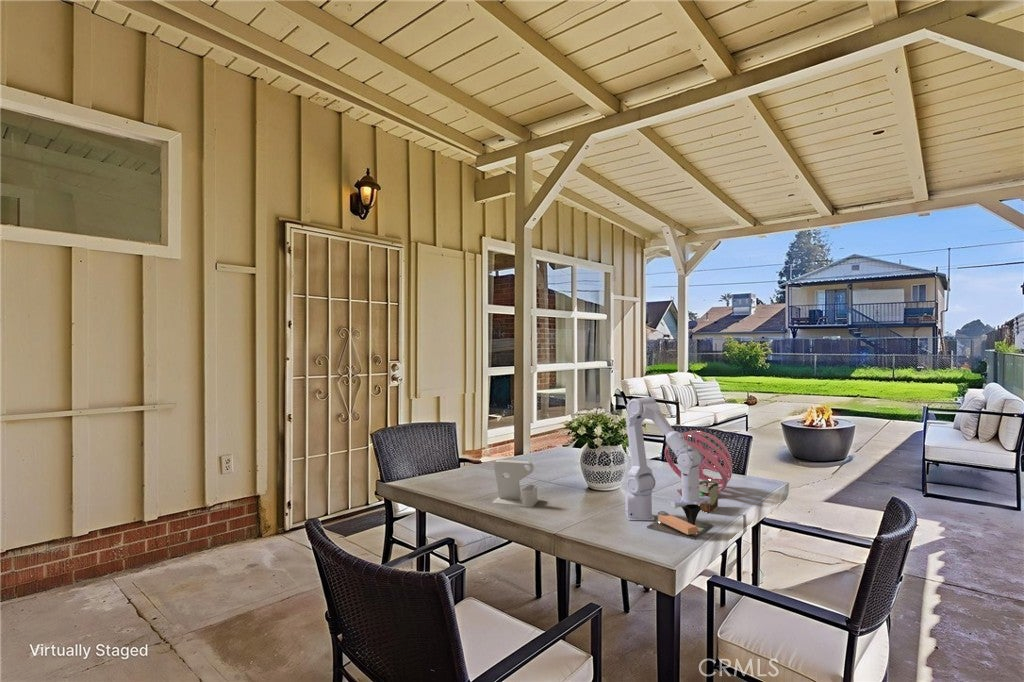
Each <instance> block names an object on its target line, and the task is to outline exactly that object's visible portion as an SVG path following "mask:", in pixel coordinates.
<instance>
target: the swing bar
mask: <svg viewBox="0 0 1024 682" xmlns="http://www.w3.org/2000/svg"><path fill="white" fill-rule="evenodd" d="M674 516H675V515H672V514H670V513H668V512H666V511H664V510H660V511H658V512H657V519H658V521H660V522H662V523H664V524H666V525H669V526H671V527H673V528H675V529H677V530H679V531H681V532H683V533H685V534H688V535H689V534H694V533H698V527H697V526H695V525H692V524H690V523H688V522H686V521H683V520H681V519H679V518H677V517H678V516H676V517H674Z"/></svg>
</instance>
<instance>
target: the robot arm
mask: <svg viewBox="0 0 1024 682" xmlns="http://www.w3.org/2000/svg"><path fill="white" fill-rule="evenodd" d="M660 408H661V407H660V404H659V403H658V402H657V401H656V399H655V398H654V397H652V396H646V397H640V398H631V399H630V400H629V402H628V403H626V416H625V425H626V433H627V440H628V447H629V454H630V462H631V464H630V465H631V468H629V470H628V471H627V480H626V487H627V489H628V491H629V492H626V493H625V496H624V500H625V504H624V505H625V507H624V508H625V509H624V510H625V511H624V512H625V516H626V518H627V520H628V521H656V518H655V517H654V515H653V506H652V505H653V503H652V502H653V501H652V500H653V499H652V498H653V497H652V496H653V495H652V493H653V489H654V488H655V487H656V479H655V477H654V474H653V469H651V467H650V466H648V464H647V462H648V461H647V456H646V449H645V440H644V434H643V433H644V432H643V424H642V423H643V422H644V421H645V420H651V421H652V422H653V423H654V425H655V426H656V427H657V428H658V429H659V430H660V432H661V433H662V434H663V435H664V436H665V443H666V445H667V444H668V445H669V447H668V448H670V449H671V450H672V452H673V453H675V454H676V456H677V457H678V459H677V457H676V456H675V457H676V463H677V464H678V466H679V470H680V471H681V478H680V479H681V483H680V484H681V488H682V493H681V497H680V498H678V499H674V500H671V501H670V507H671V508H674V509H678V508H682V510H683V512H684V514H685V516H686V519H687V520H688V523H690V524H692V525H695V521H697V517H698V515H699V513H700V511H701V507H700V504H703V503H710V497H707V496H700V492H699V481H700V479H699V465H700V464H701V463H702V459H703V455H702V454H701V453H700V452H699V451H698V450H696V449H693V448H692V447H691V446H690V445H689V444H688V443H687V441H686V440H685V439H684V436H683V434H682V433H683V432H680V431H676V430H674V428H673V427H672V426H671V424H670V423H669V421H668V419H667V418H666V417H665V415H664V414H663V412H662V411H661V409H660ZM680 433H681V434H680ZM675 454H674V455H675Z"/></svg>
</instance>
